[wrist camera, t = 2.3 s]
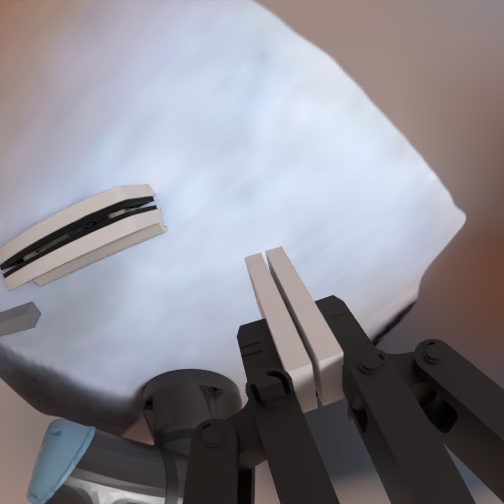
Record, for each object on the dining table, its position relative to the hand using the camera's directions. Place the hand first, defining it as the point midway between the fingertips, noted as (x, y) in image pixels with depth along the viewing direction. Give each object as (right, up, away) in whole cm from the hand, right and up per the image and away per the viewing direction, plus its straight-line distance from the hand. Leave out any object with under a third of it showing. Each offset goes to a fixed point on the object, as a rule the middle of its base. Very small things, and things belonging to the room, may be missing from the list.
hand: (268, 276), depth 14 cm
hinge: (-18, +4, +13) cm, 22 cm away
